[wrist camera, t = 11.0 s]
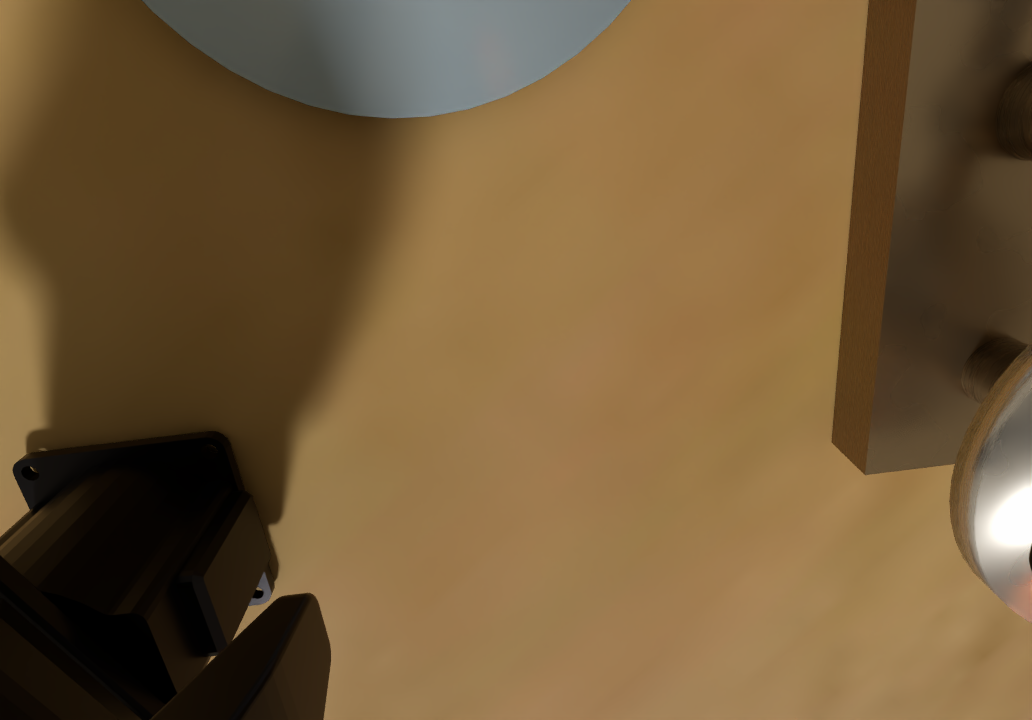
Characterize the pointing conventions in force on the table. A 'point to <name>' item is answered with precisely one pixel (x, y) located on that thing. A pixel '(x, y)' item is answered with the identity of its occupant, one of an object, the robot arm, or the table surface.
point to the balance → (946, 271)
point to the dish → (390, 47)
